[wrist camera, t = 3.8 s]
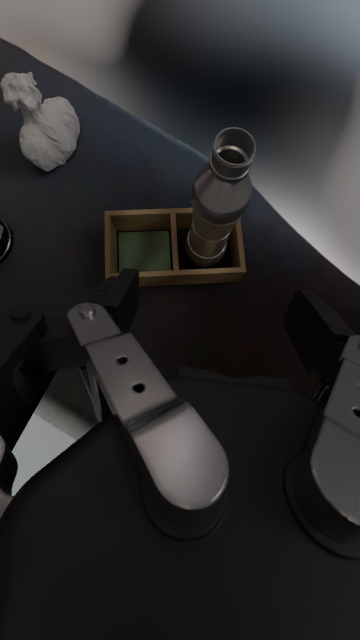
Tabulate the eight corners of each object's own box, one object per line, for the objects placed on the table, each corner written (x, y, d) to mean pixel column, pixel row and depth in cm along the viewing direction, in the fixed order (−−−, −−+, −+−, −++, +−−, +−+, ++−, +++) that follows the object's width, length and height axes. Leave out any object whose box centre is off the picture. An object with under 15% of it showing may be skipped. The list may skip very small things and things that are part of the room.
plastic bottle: (223, 236, 40) (274, 115, 20) (221, 273, 39) (273, 185, 19) (185, 232, 40) (199, 107, 20) (182, 270, 38) (193, 178, 19)
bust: (80, 136, 44) (20, 61, 36) (99, 126, 40) (35, 37, 31) (43, 183, 43) (-30, 117, 34) (58, 179, 38) (-22, 100, 29)
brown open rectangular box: (112, 287, 38) (104, 278, 33) (112, 227, 39) (104, 210, 35) (237, 282, 38) (246, 272, 34) (231, 222, 40) (239, 206, 36)
